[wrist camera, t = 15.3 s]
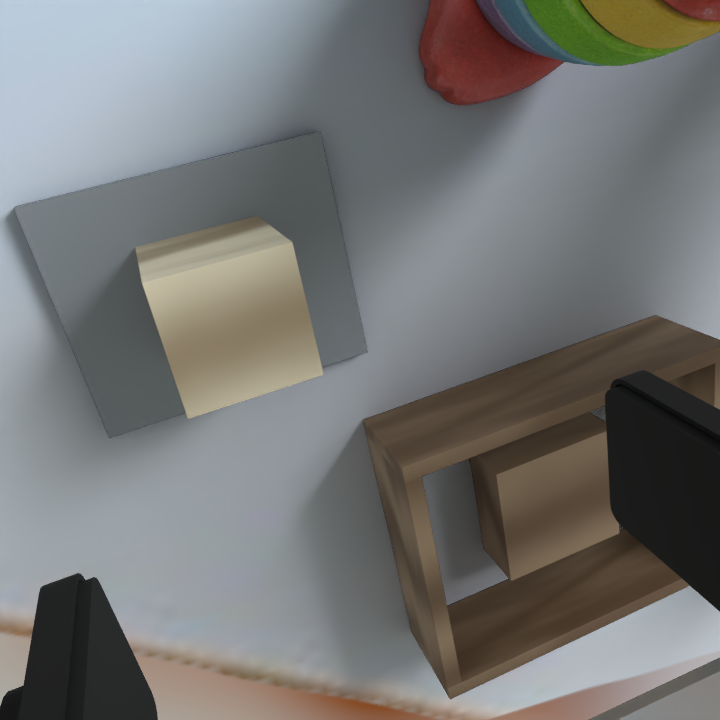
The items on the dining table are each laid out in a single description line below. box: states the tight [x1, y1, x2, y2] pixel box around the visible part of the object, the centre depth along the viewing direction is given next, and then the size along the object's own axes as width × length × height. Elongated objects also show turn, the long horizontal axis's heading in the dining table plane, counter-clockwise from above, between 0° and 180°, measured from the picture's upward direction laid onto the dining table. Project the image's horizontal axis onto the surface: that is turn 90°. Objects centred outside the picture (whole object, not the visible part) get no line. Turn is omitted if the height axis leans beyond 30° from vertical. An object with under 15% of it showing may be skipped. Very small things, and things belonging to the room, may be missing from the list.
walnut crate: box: [363, 315, 720, 699], centre depth 36 cm, size 15×18×5 cm
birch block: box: [135, 216, 324, 419], centre depth 26 cm, size 5×5×6 cm
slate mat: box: [14, 132, 368, 438], centre depth 28 cm, size 10×12×1 cm
